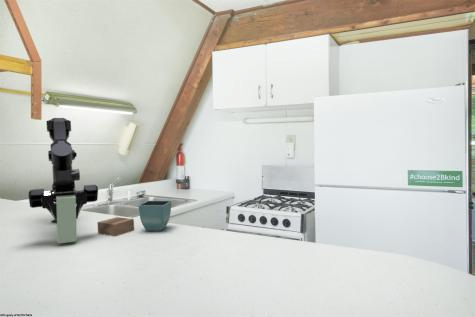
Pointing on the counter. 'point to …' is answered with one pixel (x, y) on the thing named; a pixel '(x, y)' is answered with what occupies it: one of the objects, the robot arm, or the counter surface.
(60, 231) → the sage pillar
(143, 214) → the flower pot
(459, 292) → the counter surface
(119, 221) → the walnut block
